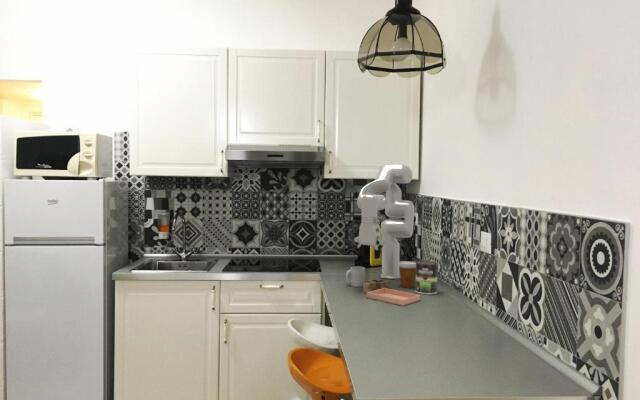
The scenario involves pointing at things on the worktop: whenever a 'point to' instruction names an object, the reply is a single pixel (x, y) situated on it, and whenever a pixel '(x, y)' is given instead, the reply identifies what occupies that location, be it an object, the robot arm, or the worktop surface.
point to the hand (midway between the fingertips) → (368, 257)
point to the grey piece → (378, 276)
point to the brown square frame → (375, 285)
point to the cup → (356, 276)
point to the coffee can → (426, 277)
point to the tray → (393, 296)
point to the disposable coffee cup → (407, 273)
